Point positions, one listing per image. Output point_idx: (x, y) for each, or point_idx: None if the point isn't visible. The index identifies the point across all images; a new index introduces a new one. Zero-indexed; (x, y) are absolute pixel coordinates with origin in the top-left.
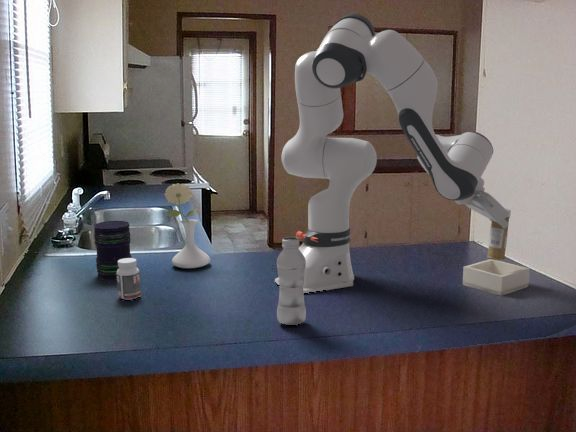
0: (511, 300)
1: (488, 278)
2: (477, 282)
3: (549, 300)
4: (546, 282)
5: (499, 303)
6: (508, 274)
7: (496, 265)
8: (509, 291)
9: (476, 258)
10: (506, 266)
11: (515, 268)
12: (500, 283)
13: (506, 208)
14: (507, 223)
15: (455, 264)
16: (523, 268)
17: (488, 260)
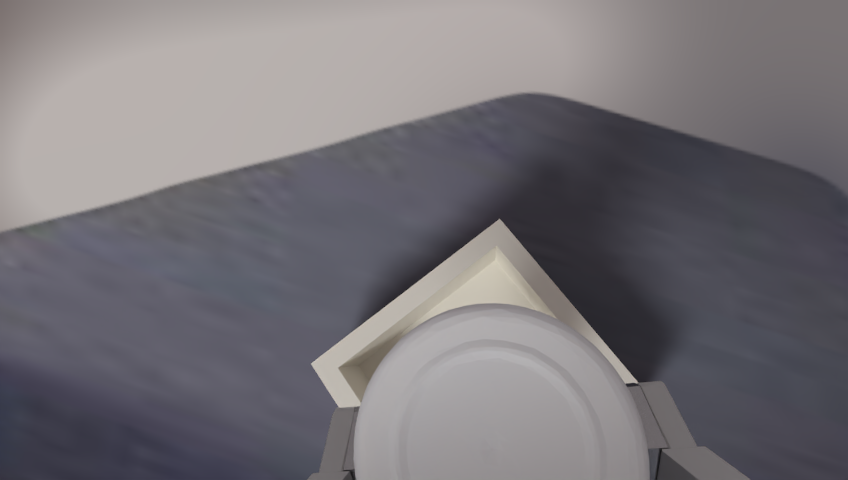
0: (697, 378)
1: None
2: None
3: (684, 214)
4: (440, 151)
5: (748, 450)
6: (617, 367)
7: (367, 349)
8: None
9: (70, 339)
10: (413, 312)
11: (456, 278)
12: None
13: (466, 356)
14: (669, 398)
15: (139, 474)
16: (501, 250)
17: (339, 390)
